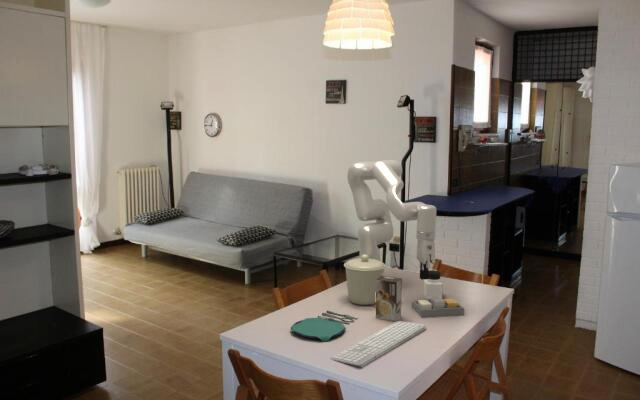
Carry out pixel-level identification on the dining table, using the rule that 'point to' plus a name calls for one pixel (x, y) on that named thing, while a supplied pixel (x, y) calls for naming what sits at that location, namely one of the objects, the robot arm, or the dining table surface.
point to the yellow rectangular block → (450, 303)
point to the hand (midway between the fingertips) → (423, 278)
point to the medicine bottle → (433, 285)
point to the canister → (363, 279)
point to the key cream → (424, 304)
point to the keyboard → (378, 343)
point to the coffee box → (388, 298)
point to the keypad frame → (437, 310)
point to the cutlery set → (321, 326)
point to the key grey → (437, 302)
